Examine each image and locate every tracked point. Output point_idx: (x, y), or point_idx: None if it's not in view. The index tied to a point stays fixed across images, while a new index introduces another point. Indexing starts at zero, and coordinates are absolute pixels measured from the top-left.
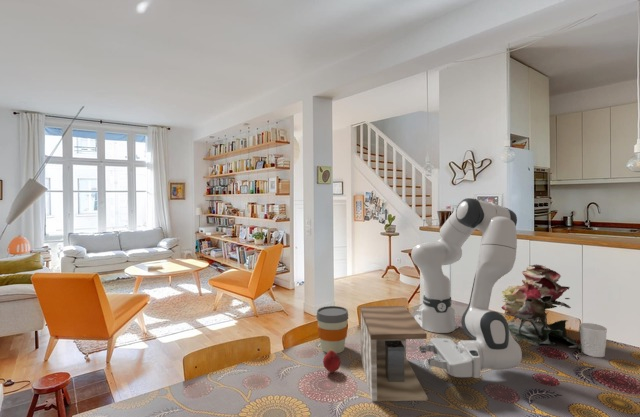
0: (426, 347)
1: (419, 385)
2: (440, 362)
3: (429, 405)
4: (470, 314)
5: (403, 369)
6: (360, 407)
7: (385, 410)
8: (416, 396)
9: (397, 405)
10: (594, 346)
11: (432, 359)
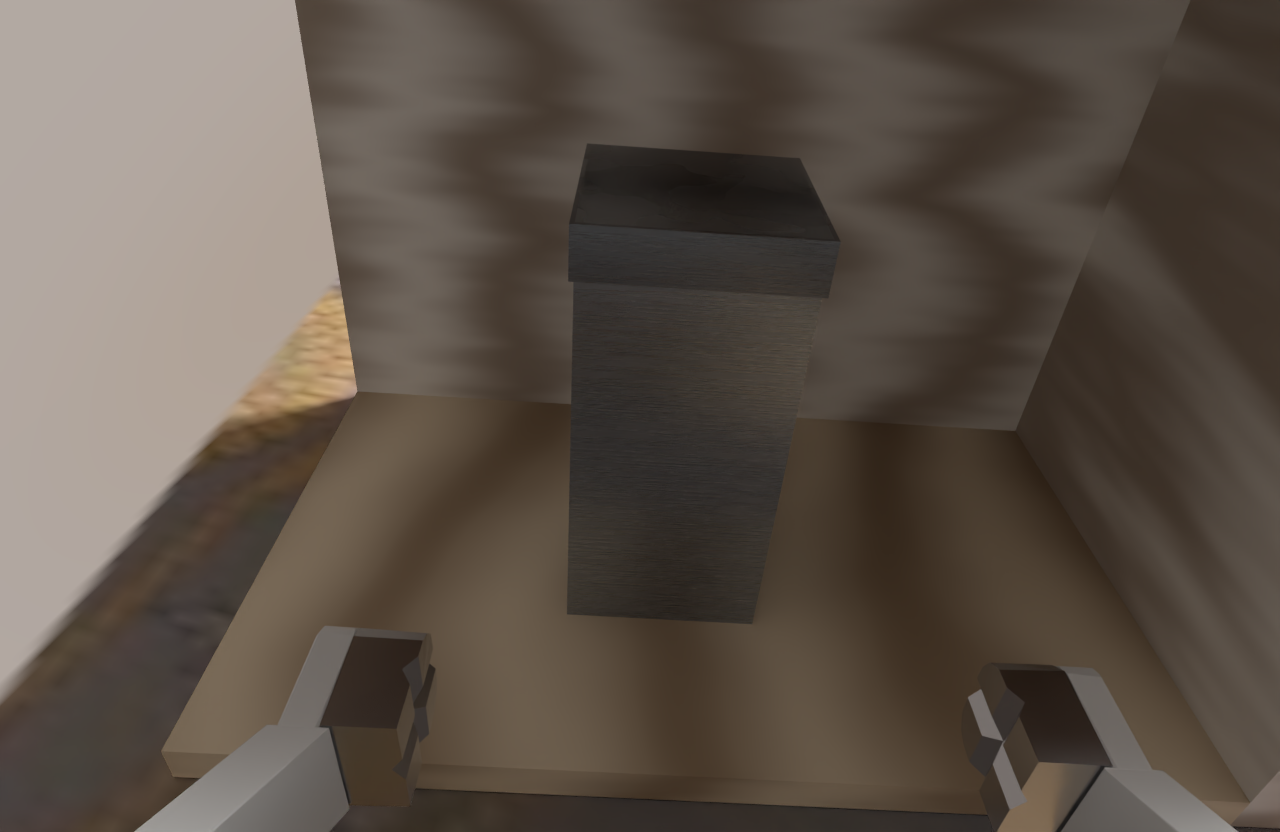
0: (1119, 816)
1: (447, 745)
2: (166, 828)
3: (70, 768)
4: None
5: (571, 497)
6: (331, 342)
7: (225, 433)
8: (235, 642)
9: (244, 507)
10: None
11: (368, 684)
